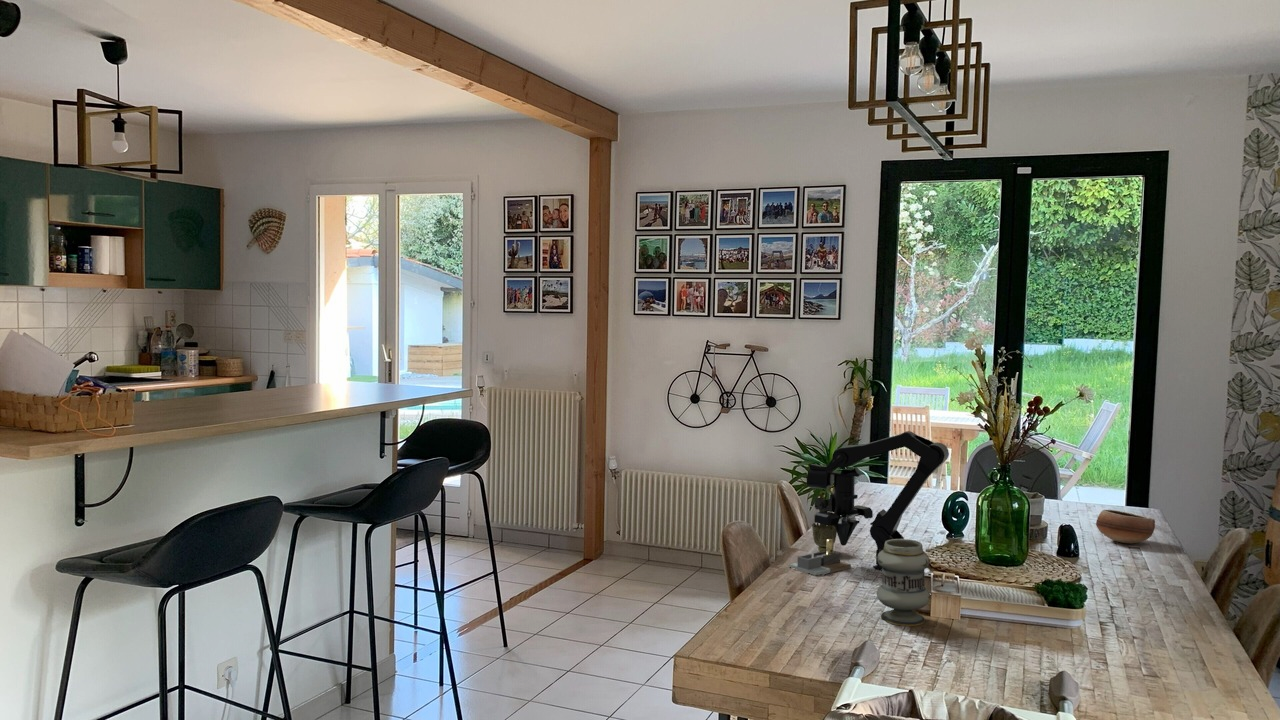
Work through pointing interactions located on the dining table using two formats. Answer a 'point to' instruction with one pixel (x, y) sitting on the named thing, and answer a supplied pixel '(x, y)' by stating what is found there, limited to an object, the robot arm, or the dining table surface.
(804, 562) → the jamb keeper
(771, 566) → the dining table surface
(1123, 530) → the bowl
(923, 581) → the apothecary jar
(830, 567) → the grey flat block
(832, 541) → the bolt
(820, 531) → the cup
